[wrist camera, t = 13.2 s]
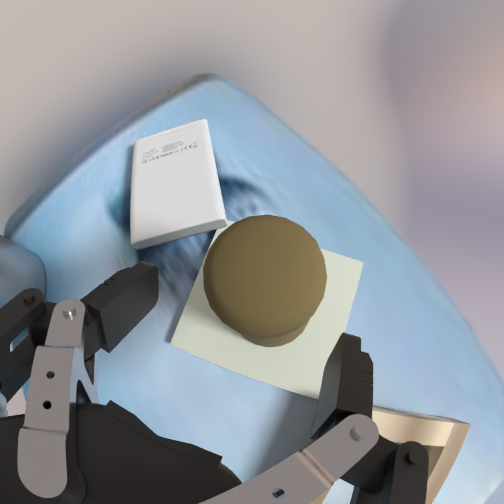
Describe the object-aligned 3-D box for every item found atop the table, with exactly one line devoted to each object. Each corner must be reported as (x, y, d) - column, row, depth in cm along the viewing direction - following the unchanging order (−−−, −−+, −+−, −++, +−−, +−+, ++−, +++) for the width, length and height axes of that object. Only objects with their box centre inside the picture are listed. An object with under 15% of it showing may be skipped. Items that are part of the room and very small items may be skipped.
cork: (217, 328, 20) (156, 307, 10) (249, 256, 22) (222, 175, 12) (293, 359, 19) (310, 373, 9) (323, 283, 21) (362, 221, 10)
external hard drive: (137, 251, 23) (138, 149, 28) (228, 227, 23) (209, 127, 28) (129, 243, 22) (132, 140, 26) (224, 217, 22) (205, 116, 26)
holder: (275, 513, 15) (274, 532, 12) (333, 396, 19) (341, 403, 16) (395, 526, 13) (405, 540, 10) (452, 418, 16) (470, 424, 13)
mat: (172, 344, 21) (170, 344, 20) (223, 221, 24) (221, 218, 23) (318, 398, 19) (320, 400, 18) (361, 264, 22) (363, 262, 21)
